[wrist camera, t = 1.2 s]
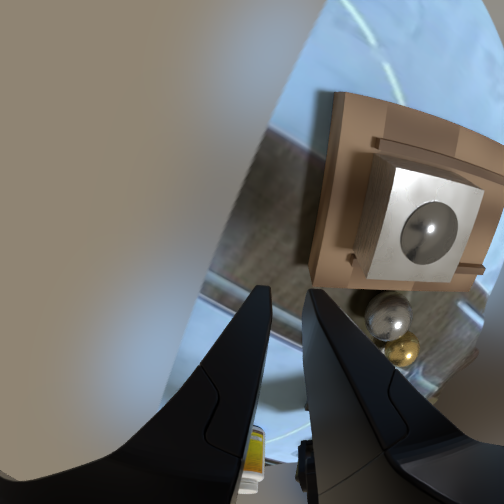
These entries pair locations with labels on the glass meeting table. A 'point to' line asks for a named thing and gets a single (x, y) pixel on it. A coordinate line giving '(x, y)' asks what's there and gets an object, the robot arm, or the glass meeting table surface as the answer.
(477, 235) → the housing plate
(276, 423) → the glass meeting table surface
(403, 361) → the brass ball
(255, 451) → the supplement bottle
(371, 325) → the steel ball
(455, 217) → the grey sliding block
